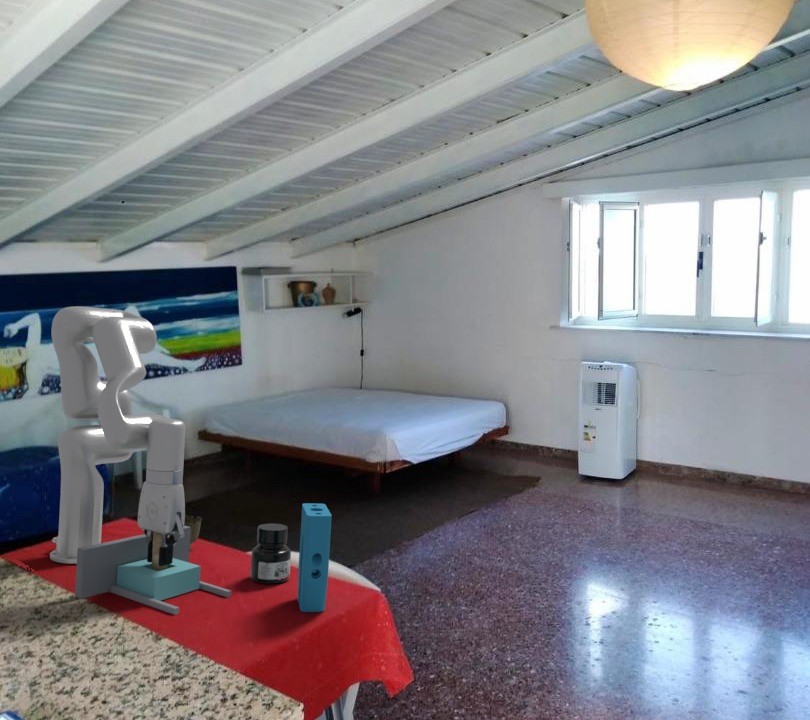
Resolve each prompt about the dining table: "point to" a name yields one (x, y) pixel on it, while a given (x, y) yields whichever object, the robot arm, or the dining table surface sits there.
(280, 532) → the ink bottle
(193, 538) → the cup
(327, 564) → the block
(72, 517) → the robot arm
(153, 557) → the dowel
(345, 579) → the dining table surface
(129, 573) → the socket block
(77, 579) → the backstop wall
